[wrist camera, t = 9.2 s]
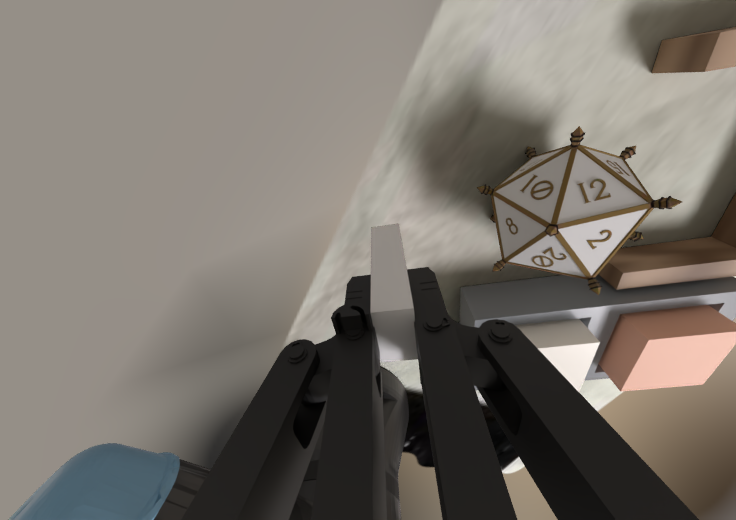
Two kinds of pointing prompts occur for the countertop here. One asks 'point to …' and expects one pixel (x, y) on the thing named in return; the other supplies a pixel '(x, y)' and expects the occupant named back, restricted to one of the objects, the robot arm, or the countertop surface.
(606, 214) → the game die
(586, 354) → the ivory key
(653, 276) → the walnut bracket
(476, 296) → the key panel
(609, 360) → the terracotta key
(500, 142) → the countertop surface
